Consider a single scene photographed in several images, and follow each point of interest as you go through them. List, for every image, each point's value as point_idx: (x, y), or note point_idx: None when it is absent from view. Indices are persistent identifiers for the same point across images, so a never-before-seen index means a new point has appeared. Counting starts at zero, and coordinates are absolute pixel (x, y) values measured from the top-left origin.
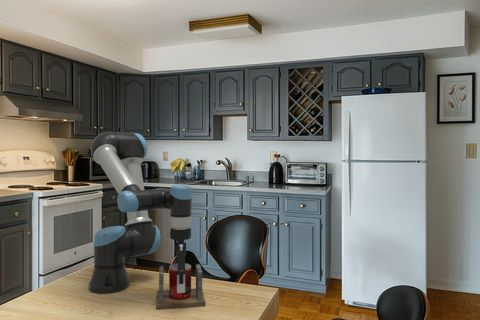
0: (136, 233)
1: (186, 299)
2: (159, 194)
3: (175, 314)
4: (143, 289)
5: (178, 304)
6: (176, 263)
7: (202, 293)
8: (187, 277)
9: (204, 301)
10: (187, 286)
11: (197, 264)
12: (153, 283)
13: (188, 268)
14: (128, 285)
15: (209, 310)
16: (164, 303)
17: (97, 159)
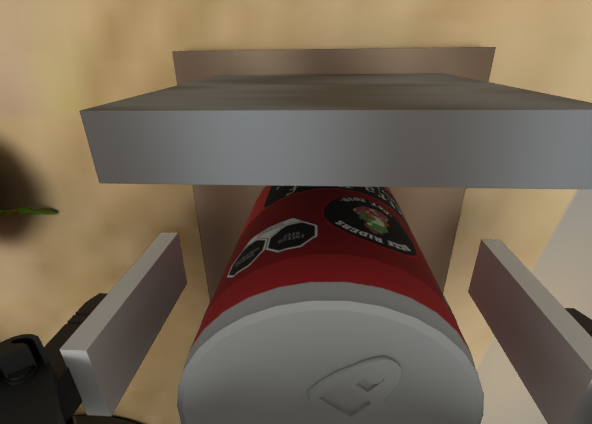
0: None
1: (395, 188)
2: None
3: (531, 245)
4: (141, 367)
5: (451, 236)
6: (110, 410)
7: (297, 56)
8: (428, 270)
9: (481, 55)
10: (405, 221)
11: (113, 157)
12: (47, 328)
13: (452, 338)
14: (110, 422)
15: (573, 21)
16: None
17: None
